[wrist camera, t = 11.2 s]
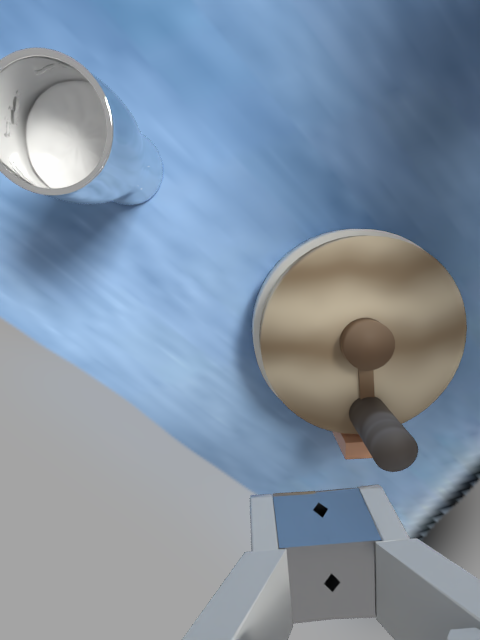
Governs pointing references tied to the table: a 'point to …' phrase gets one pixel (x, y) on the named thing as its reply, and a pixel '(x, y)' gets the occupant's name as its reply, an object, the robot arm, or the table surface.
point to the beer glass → (71, 133)
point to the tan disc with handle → (364, 340)
